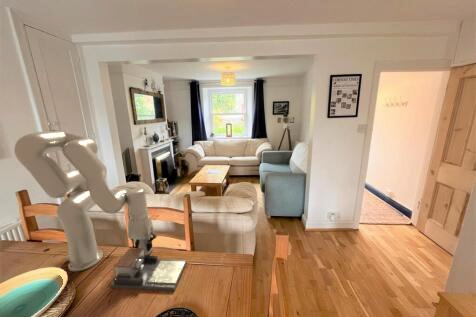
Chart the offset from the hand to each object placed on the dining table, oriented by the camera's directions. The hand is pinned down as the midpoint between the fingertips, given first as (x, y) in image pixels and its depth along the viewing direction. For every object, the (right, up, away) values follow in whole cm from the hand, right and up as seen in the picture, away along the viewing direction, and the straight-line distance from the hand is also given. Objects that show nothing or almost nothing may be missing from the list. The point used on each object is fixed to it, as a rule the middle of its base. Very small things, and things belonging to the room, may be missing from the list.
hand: (144, 248), depth 93 cm
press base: (+10, -5, -13) cm, 17 cm away
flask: (0, -2, 0) cm, 2 cm away
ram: (+2, -3, -13) cm, 13 cm away
